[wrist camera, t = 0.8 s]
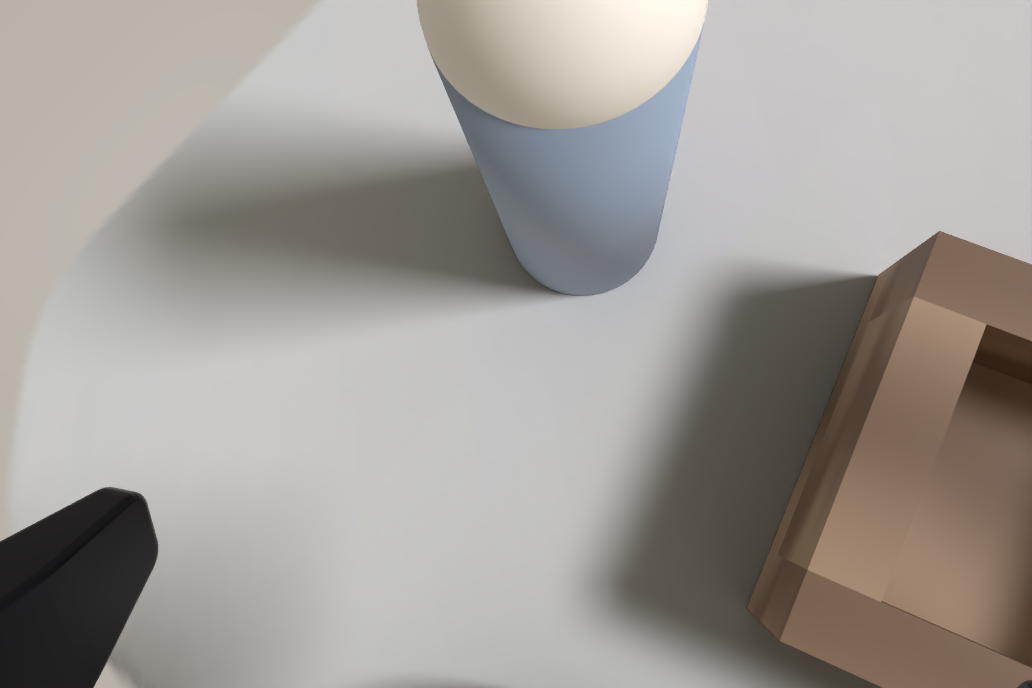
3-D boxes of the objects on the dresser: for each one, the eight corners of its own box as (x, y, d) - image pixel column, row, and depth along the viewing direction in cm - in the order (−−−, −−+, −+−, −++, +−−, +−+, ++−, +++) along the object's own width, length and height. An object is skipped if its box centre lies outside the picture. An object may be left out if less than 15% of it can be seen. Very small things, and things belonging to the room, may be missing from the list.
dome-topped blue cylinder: (623, 318, 22) (648, 107, 9) (484, 262, 23) (326, -10, 10) (682, 181, 22) (783, -205, 10) (543, 129, 23) (465, -299, 10)
